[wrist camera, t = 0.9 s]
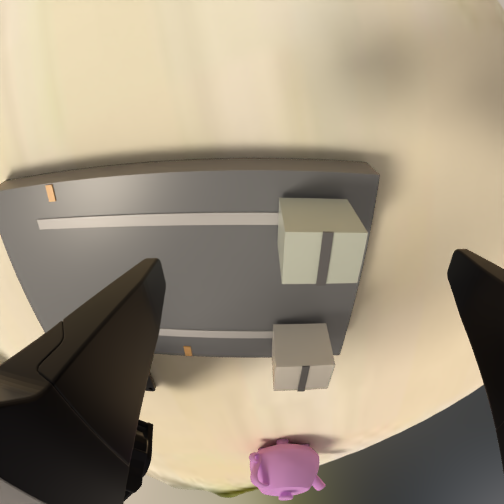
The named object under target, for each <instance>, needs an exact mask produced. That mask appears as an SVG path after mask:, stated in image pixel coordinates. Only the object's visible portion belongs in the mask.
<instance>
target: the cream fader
mask: <svg viewBox="0 0 504 504" xmlns="http://www.w3.org/2000/svg"><path fill="white" fill-rule="evenodd" d="M272 366H273V389H274V391H285V390H297V391H305V390H310V389H326V388H328V385H329V382H330V379H331V376H332V373H333V370H334V367H335V362H334V357H333V352H332V348H331V343H330V338H329V334H328V329H327V325H326V323H316V324H273V338H272Z"/></svg>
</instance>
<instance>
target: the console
mask: <svg viewBox="0 0 504 504" xmlns="http://www.w3.org/2000/svg"><path fill="white" fill-rule="evenodd" d="M379 177H380V175H379V174H378V173H377V172H376V171H375V170H374V169H373V168H372V167H371V166H370V165H369V164H368V163H367V162H354V161H337V160H317V159H285V158H226V159H194V160H173V161H157V162H143V163H131V164H120V165H110V166H101V167H92V168H83V169H75V170H68V171H61V172H54V173H47V174H41V175H35V176H29V177H23V178H17V179H12V180H7V181H4V182H3V183H1V184H0V235H1V237H2V240H3V243H4V246H5V248H6V251H7V253H8V256H9V258H10V261H11V263H12V266H13V268H14V270H15V273H16V275H17V277H18V280H19V282H20V284H21V286H22V288H23V291H24V293H25V295H26V297H27V299H28V301H29V303H30V305H31V307H32V309H33V311H34V313H35V315H36V317H37V319H38V321H39V323H40V324H41V326H42V328H43V330H44V332H45V333H46V332H47V331H49V330H50V329H51V328H53V327H54V326H55V325H56V324H58V323H59V322H60V321H63V319H64V318H65V317H67V316H68V315H69V314H71V313H72V312H73V311H74V310H76V309H77V308H78V307H80V306H81V305H82V304H84V303H85V302H86V301H88V300H89V299H90V298H92V297H93V296H94V295H96V294H97V293H98V292H100V291H101V290H102V289H104V288H105V287H106V286H108V285H109V284H110V283H112V282H113V281H115V280H116V279H117V278H119V277H120V276H121V275H123V274H124V273H126V272H127V271H128V270H130V269H131V268H132V267H134V266H135V265H137V264H138V263H139V262H141V261H142V260H144V259H145V258H158V259H160V261H161V264H162V269H163V273H164V277H165V281H166V291H165V297H164V304H163V311H162V317H161V325H160V331H159V336H158V340H157V344H156V348H155V352H154V354H168V355H184V356H205V357H272V338H273V324H316V323H326V325H327V329H328V334H329V338H330V343H331V348H332V352H333V355H340V352H341V348H342V345H343V342H344V338H345V335H346V331H347V327H348V324H349V320H350V317H351V313H352V309H353V305H354V301H355V297H356V293H357V289H358V285H359V281H360V277H361V272H362V268H363V263H364V259H365V254H366V250H367V245H368V240H369V235H370V230H371V224H372V219H373V214H374V208H375V202H376V196H377V190H378V184H379ZM279 198H323V199H347V200H348V201H349V203H350V204H351V206H352V208H353V209H354V211H355V212H356V214H357V216H358V217H359V219H360V221H361V222H362V224H363V226H364V227H365V229H366V231H367V232H368V235H367V240H366V245H365V250H364V255H363V260H362V264H361V269H360V273H359V277H358V282H357V283H332V284H326V286H316V284H282V280H281V271H280V262H279V253H278V244H277V241H278V216H279Z"/></svg>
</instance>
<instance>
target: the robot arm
mask: <svg viewBox="0 0 504 504" xmlns="http://www.w3.org/2000/svg"><path fill="white" fill-rule="evenodd" d="M447 276H448V280H449V283H450V286H451V289H452V292H453V295H454V298H455V301H456V305H457V308H458V311H459V314H460V317H461V320H462V323H463V325H464V328H465V330H466V333H467V335H468V338H469V341H470V344H471V346H472V349H473V352H474V355H475V358H476V361H477V364H478V367H479V370H480V373H481V376H482V379H483V383H484V386H485V389H486V393H487V396H488V400H489V404H490V408H491V411H492V415H493V419H494V424H495V428H496V433H497V438H498V443H499V448H500V453H501V459H502V464H503V472H504V269H503V268H501V267H499V266H497V265H495V264H494V263H492V262H490V261H488V260H486V259H484V258H482V257H481V256H479V255H477V254H475V253H473V252H471V251H469V250H467V249H457V250H455V251H454V253H453V256H452V259H451V262H450V265H449V268H448V272H447ZM165 291H166V281H165V277H164V273H163V269H162V264H161V261H160V259H158V258H145V259H144V260H142V261H141V262H139V263H138V264H137V265H135V266H134V267H132V268H131V269H130V270H128V271H127V272H126V273H124V274H123V275H121V276H120V277H119V278H117V279H116V280H115V281H113V282H112V283H110V284H109V285H108V286H106V287H105V288H104V289H102V290H101V291H100V292H98V293H97V294H96V295H94V296H93V297H92V298H90V299H89V300H88V301H86V302H85V303H84V304H82V305H81V306H80V307H78V308H77V309H76V310H74V311H73V312H72V313H71V314H69V315H68V316H67V317H65V318H64V319H63V321H60V322H59V323H58V324H56V325H55V326H54V327H53V328H51V329H50V330H49V331H47V332H46V333H45V334H43V335H42V336H41V337H39V338H38V339H37V340H35V341H34V342H32V343H31V344H30V345H28V346H27V347H25V348H24V349H22V350H21V351H20V352H18V353H17V354H15V355H14V356H12V357H11V358H10V359H8V360H7V361H5V362H4V363H2V364H1V365H0V504H123V502H124V501H125V500H126V499H127V498H128V497H129V496H130V495H131V494H132V493H135V492H136V491H137V490H138V489H139V488H140V487H141V485H142V477H143V476H144V475H145V474H146V472H147V470H148V468H149V465H150V461H151V456H152V436H153V424H151V423H146V422H144V421H141V420H139V415H140V411H141V406H142V402H143V397H144V393H145V390H146V391H155V388H156V386H155V384H154V382H153V379H152V377H151V374H150V368H151V364H152V360H153V356H154V352H155V348H156V344H157V340H158V336H159V331H160V325H161V317H162V311H163V304H164V297H165Z"/></svg>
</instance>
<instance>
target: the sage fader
mask: <svg viewBox="0 0 504 504" xmlns="http://www.w3.org/2000/svg"><path fill="white" fill-rule="evenodd" d="M367 235H368V232H367V231H366V229H365V227H364V226H363V224H362V222H361V221H360V219H359V217H358V216H357V214H356V212H355V211H354V209H353V208H352V206H351V204H350V203H349V201H348V200H347V199H323V198H279V216H278V241H277V244H278V253H279V262H280V271H281V280H282V284H316V286H326V284H332V283H357V282H358V277H359V273H360V269H361V264H362V260H363V255H364V250H365V245H366V240H367Z"/></svg>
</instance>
